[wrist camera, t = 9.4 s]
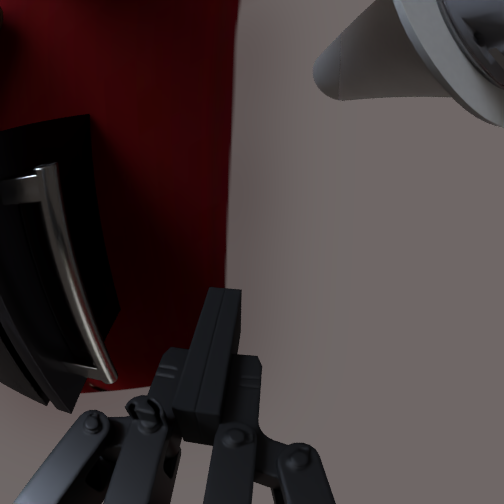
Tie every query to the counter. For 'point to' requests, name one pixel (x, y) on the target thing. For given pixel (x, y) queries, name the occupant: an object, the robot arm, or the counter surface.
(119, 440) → the robot arm
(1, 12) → the tin
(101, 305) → the oven door
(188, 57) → the counter surface
